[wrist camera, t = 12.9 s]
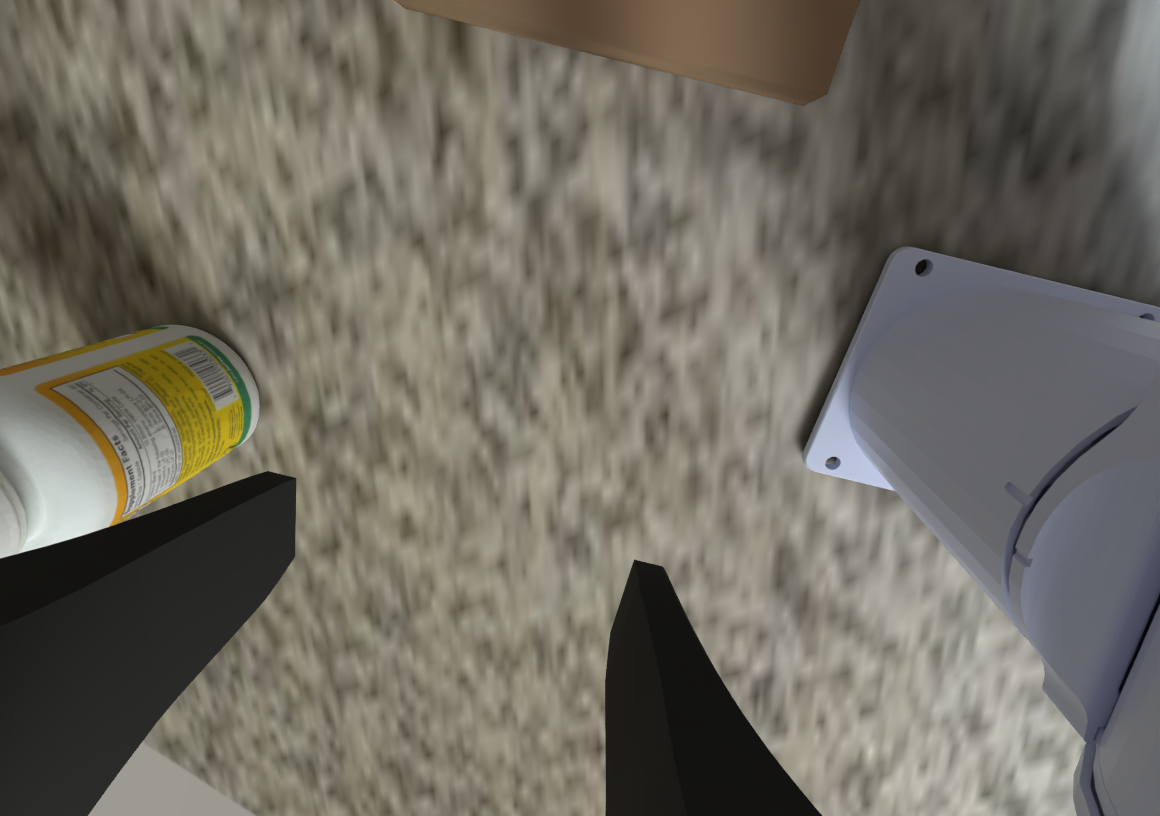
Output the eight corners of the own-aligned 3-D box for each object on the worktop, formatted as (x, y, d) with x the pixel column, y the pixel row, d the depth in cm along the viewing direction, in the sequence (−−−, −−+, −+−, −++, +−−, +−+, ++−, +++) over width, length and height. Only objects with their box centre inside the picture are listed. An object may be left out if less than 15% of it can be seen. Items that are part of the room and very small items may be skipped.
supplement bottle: (270, 346, 20) (-15, 470, 11) (260, 466, 22) (13, 649, 13) (129, 302, 20) (-274, 391, 11) (133, 426, 22) (-205, 585, 13)
